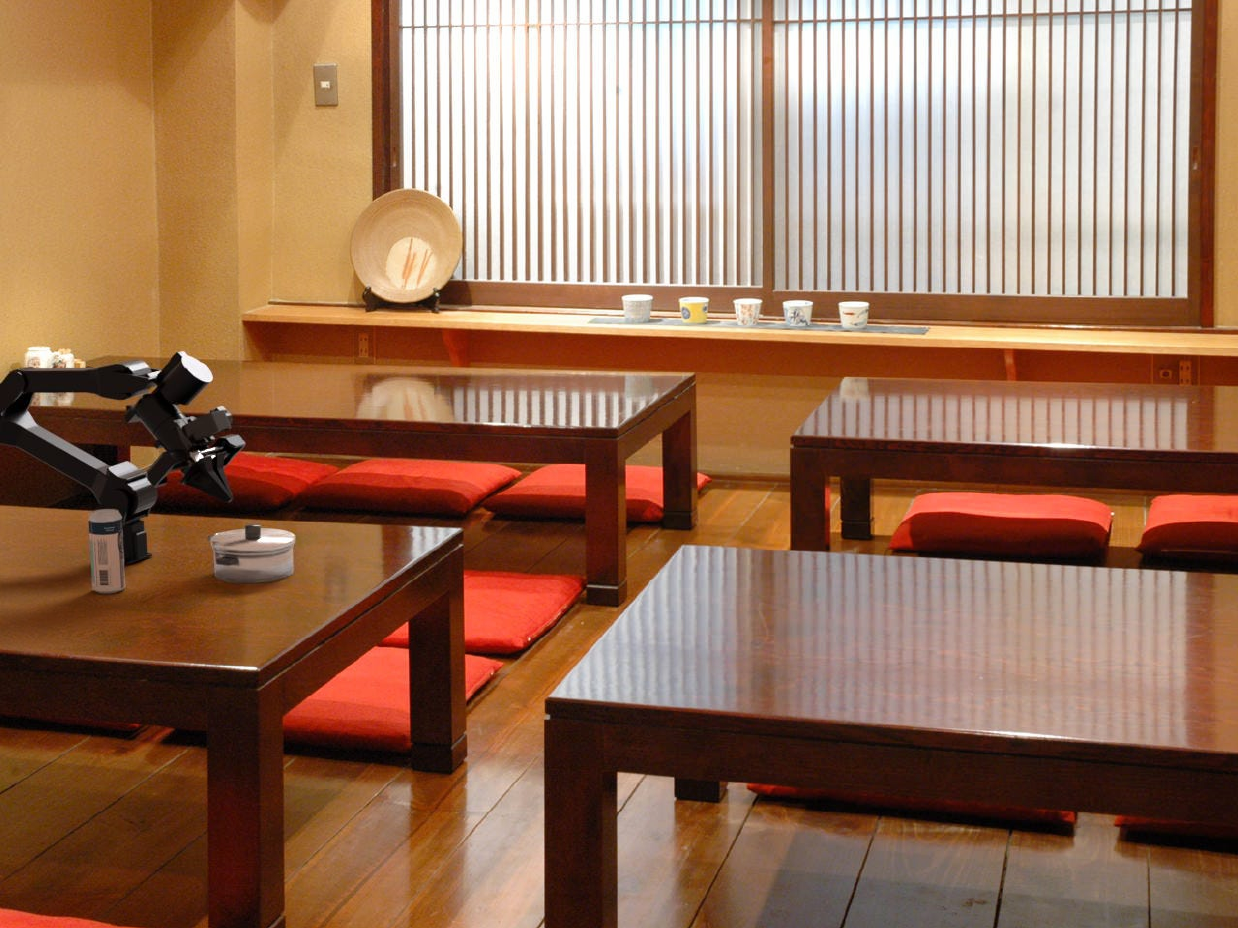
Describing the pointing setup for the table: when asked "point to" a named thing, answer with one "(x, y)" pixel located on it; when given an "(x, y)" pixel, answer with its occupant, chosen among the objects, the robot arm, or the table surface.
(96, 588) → the beer can
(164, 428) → the robot arm
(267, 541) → the cooker lid
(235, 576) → the cooker pot
